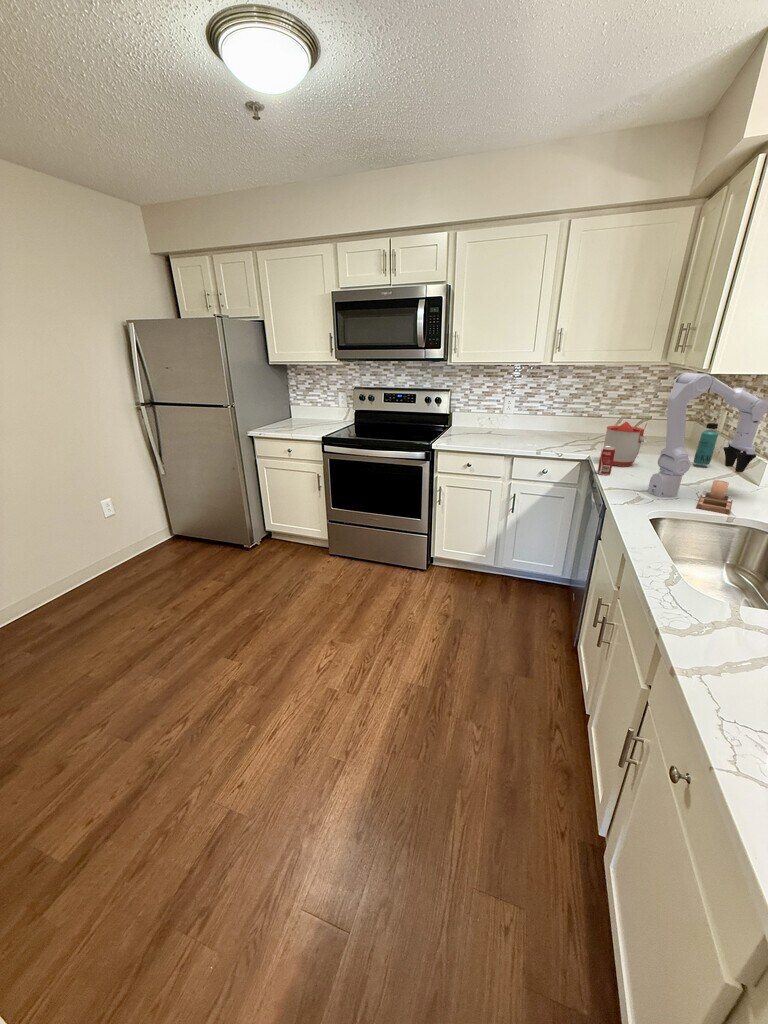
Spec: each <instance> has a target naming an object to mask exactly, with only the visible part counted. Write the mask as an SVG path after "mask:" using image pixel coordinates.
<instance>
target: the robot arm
mask: <svg viewBox="0 0 768 1024" xmlns="http://www.w3.org/2000/svg"><path fill="white" fill-rule="evenodd" d="M672 385H673V387H672V389H671V392H670V394H669V395H668V398H667V410H666V412H667V414H666V415H667V416H666V433H665V434H666V439H665V448H662V449H661V450H660V453H659V457H658V459H657V466H658V467H659V471H658V472H656V473H653V474H652V475H651V476H650V479H649V484H648V487H647V493H648V494H651V495H654V496H656V497H658V498H660V497H661V498H665V497H670V498H671V497H672V498H674V497H677V496H678V493H679V491H680V486H681V482H682V480H683V476H684V475H685V474H686V473H687V472H688V471H689V470H690V469H691V465H692V464H691V461H690V459H689V458H690V457H689V452H688V451H687V449H686V448H685V438H686V422H687V421H686V420H687V406H688V405H687V404H688V403H689V402H690V401H692V400H694V399H696V398H697V397H699V396H700V395H702V394H704V393H706V392H707V391H710V392H712V393H715V394H716V395H719V396H721V397H723V398H724V402H725V403H726V404H727V405H729V406H731V407H733V408H735V409H737V410H738V413H740V415H739V418H738V422H737V426H736V429H735V432H734V435H733V438H732V440H728V441H727V444H726V445H727V446H723V448H722V450H723V451H724V459H725V460H724V465H725V467H727V468H729V467H730V468H731V467H732V468H733V467H734V465H735V472H736V473H744V471H745V470H746V468H747V466H748V465H749V464H750V463H751V462H752V461H753V460H754V459H755V458H756V457H757V454H755V452H756V448H755V447H756V445H755V444H753V443H754V439H755V436H756V434H757V431H758V428H759V424H760V421H762V419H763V417H764V416H765V414H766V413H768V401H767V400H766V399H764V398H759V397H757V395H756V394H754V393H750V392H748V391H747V388H745V387H735V388H732V387H730V386H729V385H727V384H726V383H724V382H722V381H721V380H719V379H718V378H716V377H715V376H713V375H710V374H708V373H696V372H695V373H694V372H693V373H692V372H687V371H686V372H683V373H681V374H679V376H677V377H676V378H675V379H674V380H673V384H672ZM735 462H736V463H735Z"/></svg>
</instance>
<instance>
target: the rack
mask: <svg viewBox="0 0 768 1024" xmlns="http://www.w3.org/2000/svg"><path fill="white" fill-rule="evenodd" d="M709 494H710V491H704V490H703V491H702V494H700V496H699V498H698V501H697V504H696V506H695V509H696V510H702V511H707V512H711V513H712V512H713V513H717V514H722V515H728V516H730V515H731V510H732V505H733V499H732V498H733V497H732V495H729V494H725V498H724V500H720V499H714V498H709Z"/></svg>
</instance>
